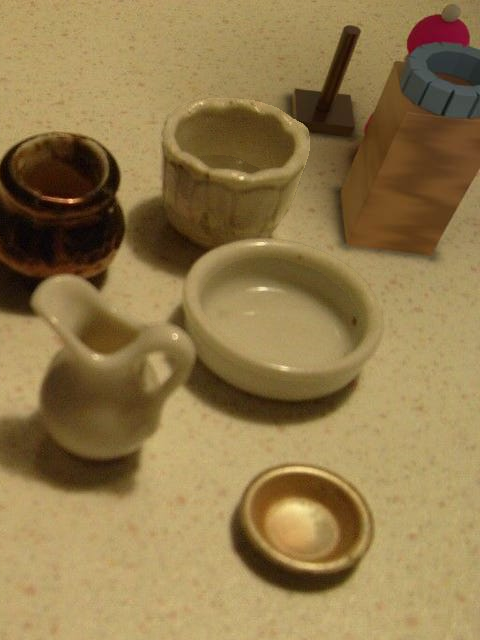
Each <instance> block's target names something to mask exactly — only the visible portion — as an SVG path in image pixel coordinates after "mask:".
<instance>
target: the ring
mask: <svg viewBox="0 0 480 640" xmlns="http://www.w3.org/2000/svg"><path fill="white" fill-rule="evenodd" d="M433 73H439V74H448V75H453V76H456V77H458V78H461V79H463V80H466V81H468V82H469V83H470V84H472V85H473V86H472V87H471V86H463V85H455V84H452V83H450V82H447V81H444V80H442V79H439V78H438V77H437V76H436V75H434V74H433ZM399 82H400V87H401V91H404V92H403V94H404V95H405V96H406V97H407V98H408V99H409V100H410V101H412V102H413V103H414V104H415V105H418V104H420V108H422V109H425V110H427V111H430V112H432V113H435V114H437V115H440V114H441V113H442V112H443V114H444V117H452V118H460V119H466V117H468V118H469V119H473V118H477V117H480V49H478V48H477V47H473V46H471V45H469V46H468V45H466V46H465V47H464V48H463V45H462V44H457V43H448V42H441V44H439V43H438V42H435V43H430V44H425V45H421V46H420V47H417V48H416V49H415V50H414V51H413V52H412V53H411V54H410V55H409V57H408V59H407V62H406V64H405V66H404V69H403V71H402V73H401V76H400V79H399Z"/></svg>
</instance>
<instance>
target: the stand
mask: <svg viewBox="0 0 480 640" xmlns="http://www.w3.org/2000/svg"><path fill="white" fill-rule="evenodd" d="M361 33H362V30H361V28H360V27H358V26H356V25H352V24H350V25H345V26H344V27H343V28H342V31H341V34H340V37H339V38H338V39H339V40H338V42H337V45H336V48H335V50H334V54H333V57H332V59H331V62H330V65H329V68H328V71H327V74H326V77H325V79H324V82H323V85H322V88H321V91H319V90H311V89H310V90H309V89H303V88H302V89H301V88H294V90H293V93H292V97H291V109H292V119H293V118H294V119H296V120H297V121H299V122H301V123H303V124H304V125H305V126H306V127H307V128H308V130H309V132H308V133H316V134H323V135H324V134H325V135H332V136H341V137H348V138H349V137H350V138H351V137H352V135H353V133H354V130H355V129H356V126H355V117H354V110H353V103H352V95H351V94H345V93H339V92H340V89H341V87H342V84H343V82H344V79H345V76H346V74H347V70H348V67H349V65H350V62H351V60H352V57H353V54H354V52H355V49H356V47H357V44H358V42H359V38H360V35H361Z"/></svg>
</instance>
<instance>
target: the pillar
mask: <svg viewBox="0 0 480 640" xmlns="http://www.w3.org/2000/svg"><path fill="white" fill-rule="evenodd" d="M405 64H406V62H404V61H401V60H395V61H394V62H393V64H392V67H391V70H390V72H389V74H388V77H387V79H386V82H385V84H384V87H383V90H382V91H381V94H380V96H379V99H378V101H377V103H376V105H375V108H374V111H373V112H374V113H373V112H372V113H373V115H372V114H371V115H372V118H371V120H370V123H369V125H368V127H367V130H366V132H365V135H364V134H363V137H362V140H361V141H360V144H359V147H358V149H357V152H356V154H355V156H354V159H353V161H352V164H351V166H350V169H349V171H348V173H347V176H346V178H345V181H344V183H343V185H342V188H341V190H340V200H341V209H342V218H343V219H342V221H343V228H344V229H343V230H344V238H345V245H348V246H354V247H355V246H356V247H362V248H370V249H376V250H377V249H378V250H386V251H392V252H401V253H407V254H414V255H415V254H416V255H422V256H423V255H424V256H432V254H433V253H434V250H435V249H436V247H437V245H438V244H439V242H440V240H441V238H442V236H443V234H444V233H445V231H446V230H447V227H448V226H449V224H450V223H451V220H452V219H453V217H454V215H455V213H456V211H457V210H458V208H459V206H460V204H461V202H462V200H463V199H464V197H465V195H466V194H467V192H468V190H469V188H470V186H471V185H472V184H473V181H474V180H475V178H476V176H477V174H478V172H479V171H480V117H477V118H473V119H469V118H468V117H466V119H460V118H452V117H444V114H443V112H442V113H441V114H440V115H437V114H435V113H432V112H430V111H427V110H425V109H422V108H420V104H418V105H415V104H414V103H413V102H412V101H410V100H409V99H408V98H407V97H406V96H405V95H404V94H403V92H404V91H401V87H400V82H399V79H400V76H401V73H402V71H403V69H404V66H405ZM433 74H434V75H436V76H437V77H438V78H439V79H442V80H444V81H447V82H450V83H452V84H455V85H463V86H471V87H472V86H473V85H472V84H470V83H469V82H468V81H466V80H463V79H461V78H458V77H456V76H453V75H448V74H439V73H433Z"/></svg>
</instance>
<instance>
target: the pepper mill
mask: <svg viewBox="0 0 480 640" xmlns="http://www.w3.org/2000/svg"><path fill="white" fill-rule="evenodd" d="M461 14H462V11H461V7H460V6H459V5H458V4H455V3H450V4H447V5H446V6H444V7H443V9H442V10H441V13H437V14H431V15H428V16H426V17H424V18H422V19H421V20H419V21H418V22H417V23H416V24H415V25H414V26H413V27H412V29H411V30H410V32H409V34H408V37H407V40H406V50H407V54H406V55H405V56H404V58H403V62H407V59H408V57H409V55H410V54H411V53H412V52H413V51H414V50H415V49H416V48H417V47H420V46H421V45H425V44H430V43H435V42H438V43H439V44H441V42H448V43H457V44H462V45H463V48H464V47H465V46H466V45H468V46H470V43H471V36H470V30H469V27H468V26H467V25H466V24H465V22H464V21H462V19H460V16H461ZM373 113H374V111H373V112H372V113H371V115H370V116H369V118H368V120H367V122H366V124H365V125H364V130H363V136H364V135H365V132H366V130H367V127H368V125H369V123H370V120H371V118H372V115H373Z"/></svg>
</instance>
